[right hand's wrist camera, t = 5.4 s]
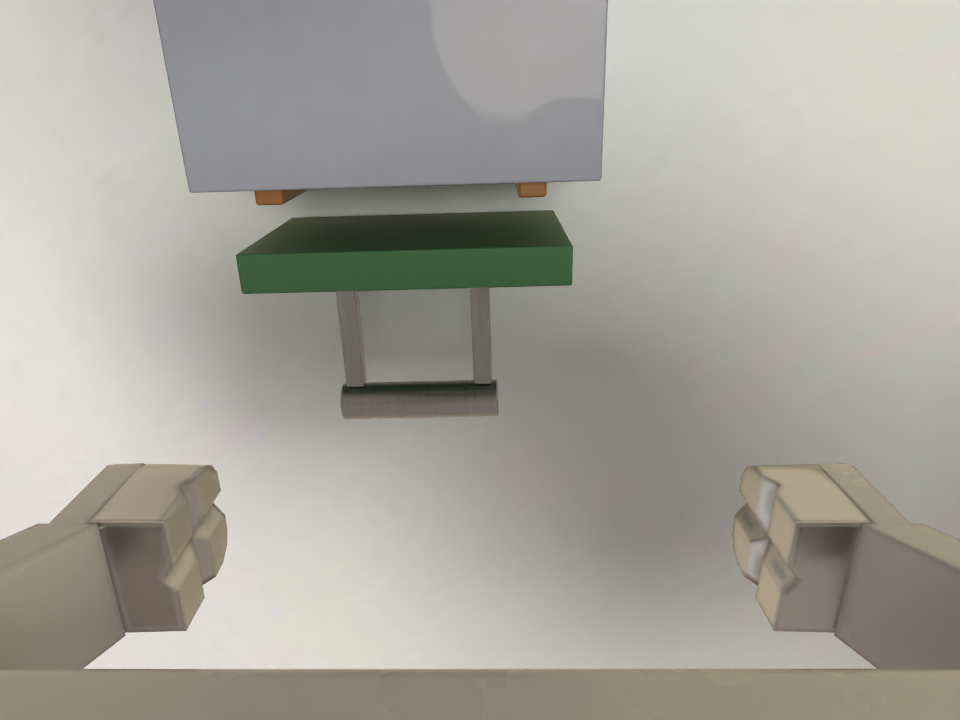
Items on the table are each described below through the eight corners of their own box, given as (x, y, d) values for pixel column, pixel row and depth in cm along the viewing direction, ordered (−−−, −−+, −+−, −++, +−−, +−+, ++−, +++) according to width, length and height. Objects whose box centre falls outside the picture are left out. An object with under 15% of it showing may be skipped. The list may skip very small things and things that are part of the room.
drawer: (552, 365, 27) (568, 436, 22) (312, 370, 27) (266, 443, 22) (559, -319, 19) (589, -488, 14) (221, -304, 19) (113, -464, 14)
